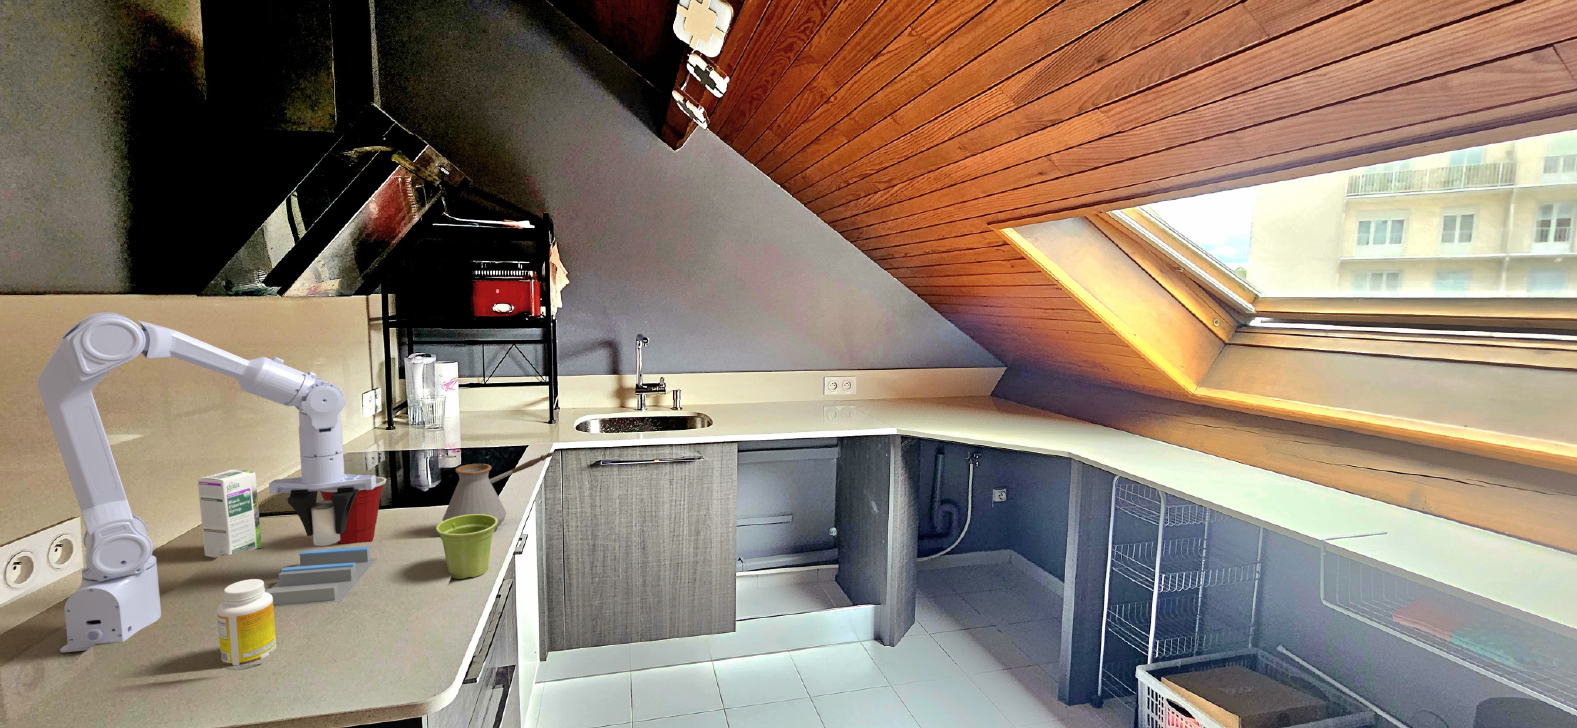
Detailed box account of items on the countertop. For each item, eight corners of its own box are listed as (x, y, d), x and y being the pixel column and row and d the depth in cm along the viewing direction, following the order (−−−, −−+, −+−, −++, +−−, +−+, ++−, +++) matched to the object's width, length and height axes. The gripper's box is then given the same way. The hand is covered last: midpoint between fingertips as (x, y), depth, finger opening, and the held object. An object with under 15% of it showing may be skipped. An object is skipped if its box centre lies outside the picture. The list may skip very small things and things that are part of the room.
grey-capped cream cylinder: (335, 544, 107) (332, 506, 106) (309, 546, 106) (306, 507, 105) (343, 536, 110) (341, 498, 109) (319, 537, 109) (316, 499, 108)
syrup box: (230, 560, 113) (224, 479, 112) (203, 556, 115) (196, 476, 113) (262, 547, 119) (257, 470, 117) (236, 544, 120) (230, 468, 118)
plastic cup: (396, 529, 129) (393, 470, 128) (380, 550, 119) (377, 487, 118) (332, 533, 126) (329, 474, 125) (310, 556, 116) (307, 491, 114)
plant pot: (510, 564, 115) (509, 517, 114) (471, 588, 106) (469, 537, 105) (466, 557, 118) (465, 511, 117) (424, 579, 109) (422, 529, 108)
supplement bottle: (286, 647, 88) (282, 575, 87) (257, 671, 82) (252, 595, 81) (242, 648, 87) (236, 576, 86) (209, 673, 82) (203, 596, 80)
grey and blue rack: (341, 607, 99) (340, 586, 98) (248, 615, 96) (246, 594, 95) (377, 563, 114) (376, 545, 114) (298, 568, 111) (297, 550, 110)
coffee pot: (440, 544, 123) (437, 467, 121) (445, 523, 133) (443, 452, 131) (559, 530, 131) (558, 458, 129) (555, 512, 142) (554, 445, 140)
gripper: (380, 445, 112) (384, 520, 113) (281, 448, 108) (287, 526, 110) (365, 455, 105) (369, 536, 107) (260, 459, 101) (266, 543, 103)
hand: (326, 532), depth 108 cm, fingers closed on grey-capped cream cylinder, 4 cm apart
